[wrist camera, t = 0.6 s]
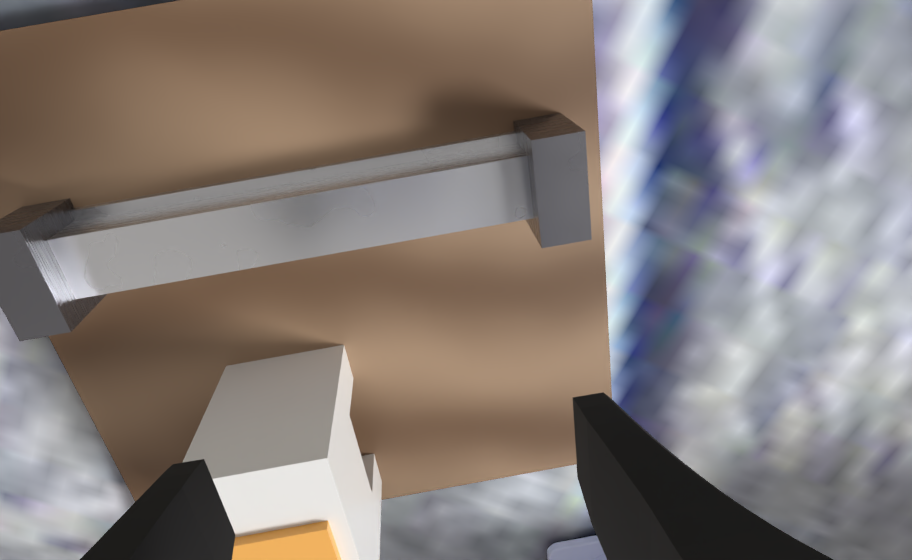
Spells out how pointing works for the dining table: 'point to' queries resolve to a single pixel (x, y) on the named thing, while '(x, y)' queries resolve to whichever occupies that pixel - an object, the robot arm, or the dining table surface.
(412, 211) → the rail
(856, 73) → the dining table surface
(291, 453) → the block
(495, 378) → the board
